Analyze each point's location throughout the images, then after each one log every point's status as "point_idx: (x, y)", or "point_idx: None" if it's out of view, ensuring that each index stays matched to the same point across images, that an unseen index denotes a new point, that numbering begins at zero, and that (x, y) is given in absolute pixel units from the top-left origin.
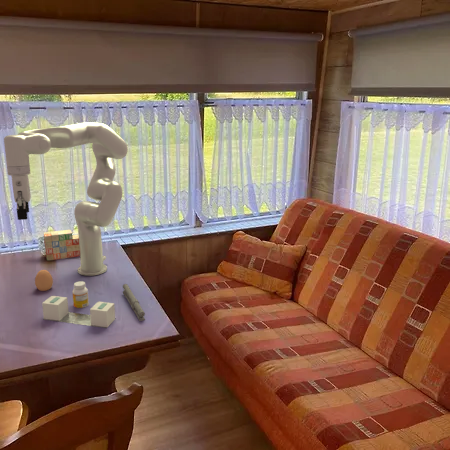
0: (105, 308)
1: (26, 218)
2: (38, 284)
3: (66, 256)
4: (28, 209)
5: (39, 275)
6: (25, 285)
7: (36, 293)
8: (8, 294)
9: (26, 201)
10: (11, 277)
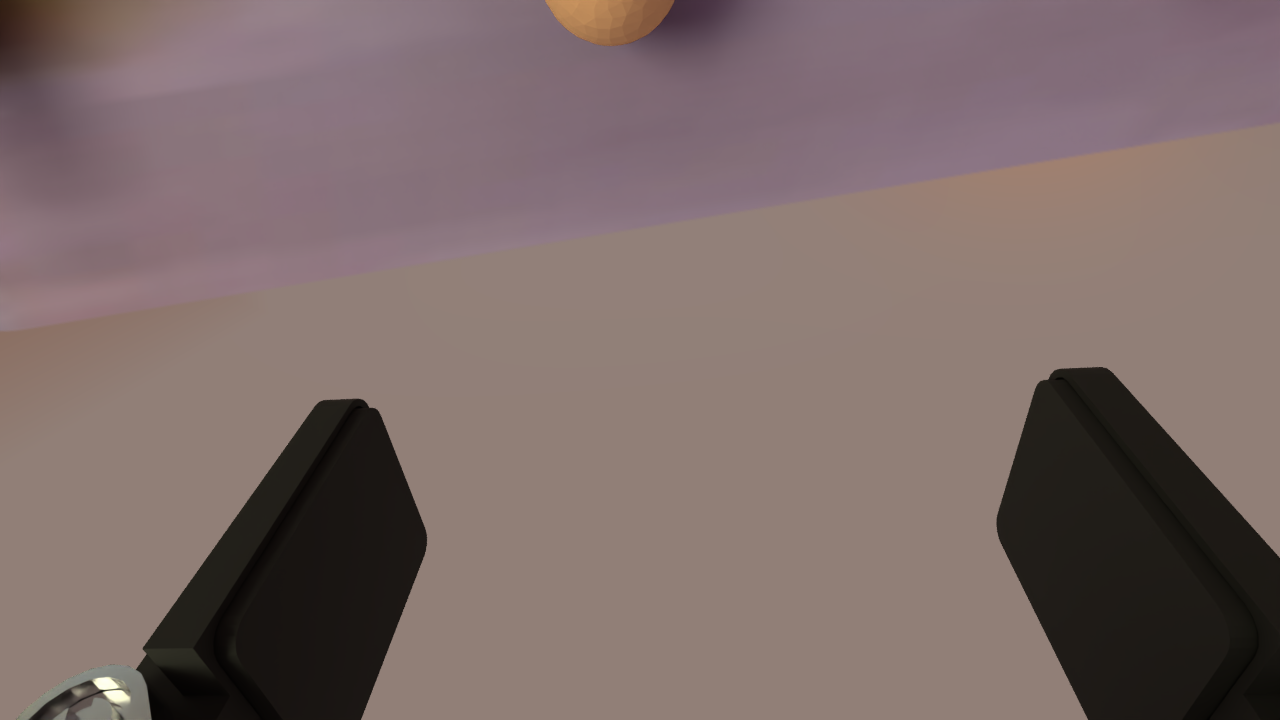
0: None
1: (1106, 387)
2: (671, 6)
3: None
4: (345, 451)
5: (649, 2)
6: (496, 124)
7: None
8: (627, 208)
9: (159, 700)
10: (362, 234)
